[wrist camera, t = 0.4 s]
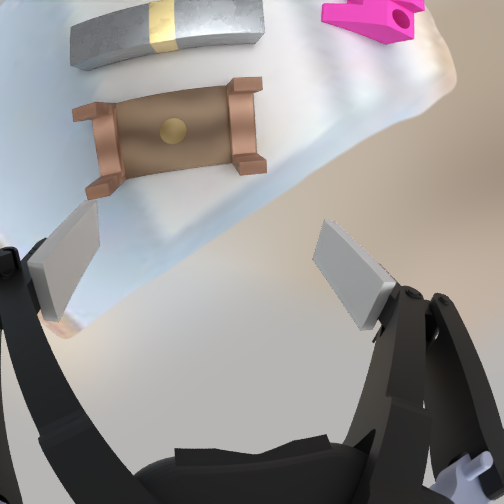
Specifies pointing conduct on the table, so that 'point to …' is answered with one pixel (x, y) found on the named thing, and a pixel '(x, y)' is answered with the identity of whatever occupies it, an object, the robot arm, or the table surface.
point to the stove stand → (174, 133)
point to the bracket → (375, 18)
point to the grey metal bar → (164, 29)
